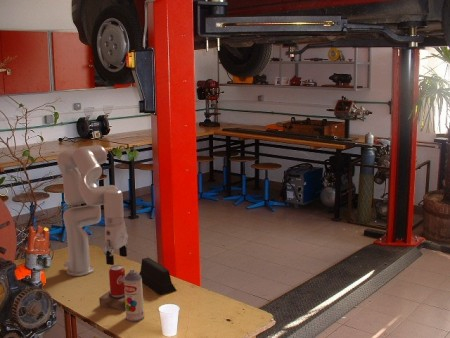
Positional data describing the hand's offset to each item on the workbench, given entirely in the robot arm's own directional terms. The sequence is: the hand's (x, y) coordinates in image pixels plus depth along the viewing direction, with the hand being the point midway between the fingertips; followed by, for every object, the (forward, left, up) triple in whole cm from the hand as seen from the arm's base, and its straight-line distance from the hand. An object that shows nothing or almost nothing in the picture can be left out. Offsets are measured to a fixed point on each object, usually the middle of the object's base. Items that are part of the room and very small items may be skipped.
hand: (116, 260), depth 227 cm
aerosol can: (+13, -10, -19) cm, 25 cm away
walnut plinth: (0, 0, -19) cm, 19 cm away
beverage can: (+1, -2, -14) cm, 14 cm away
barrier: (+5, +21, -19) cm, 29 cm away
